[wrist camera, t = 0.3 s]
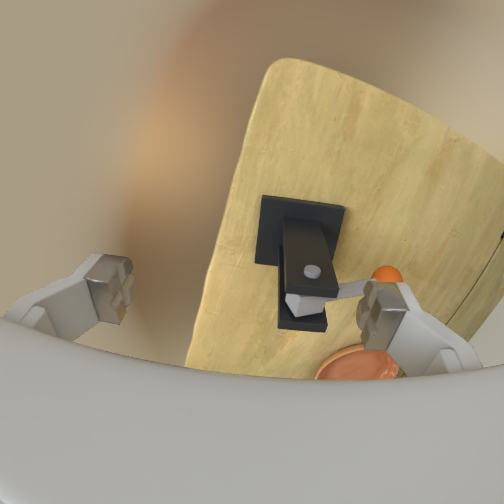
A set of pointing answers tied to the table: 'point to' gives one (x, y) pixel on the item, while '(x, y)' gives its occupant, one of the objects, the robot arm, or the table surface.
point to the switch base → (300, 253)
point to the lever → (313, 304)
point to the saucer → (357, 365)
